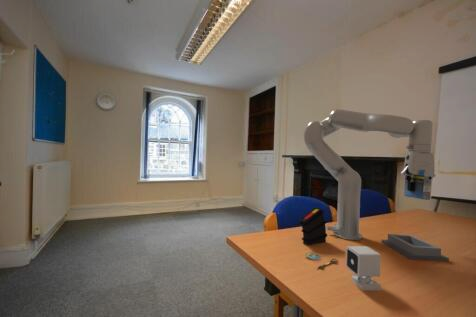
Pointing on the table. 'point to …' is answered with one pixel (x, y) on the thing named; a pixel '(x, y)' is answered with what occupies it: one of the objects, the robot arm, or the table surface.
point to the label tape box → (419, 187)
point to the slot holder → (414, 248)
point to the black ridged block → (313, 227)
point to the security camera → (363, 266)
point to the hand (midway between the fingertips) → (416, 191)
